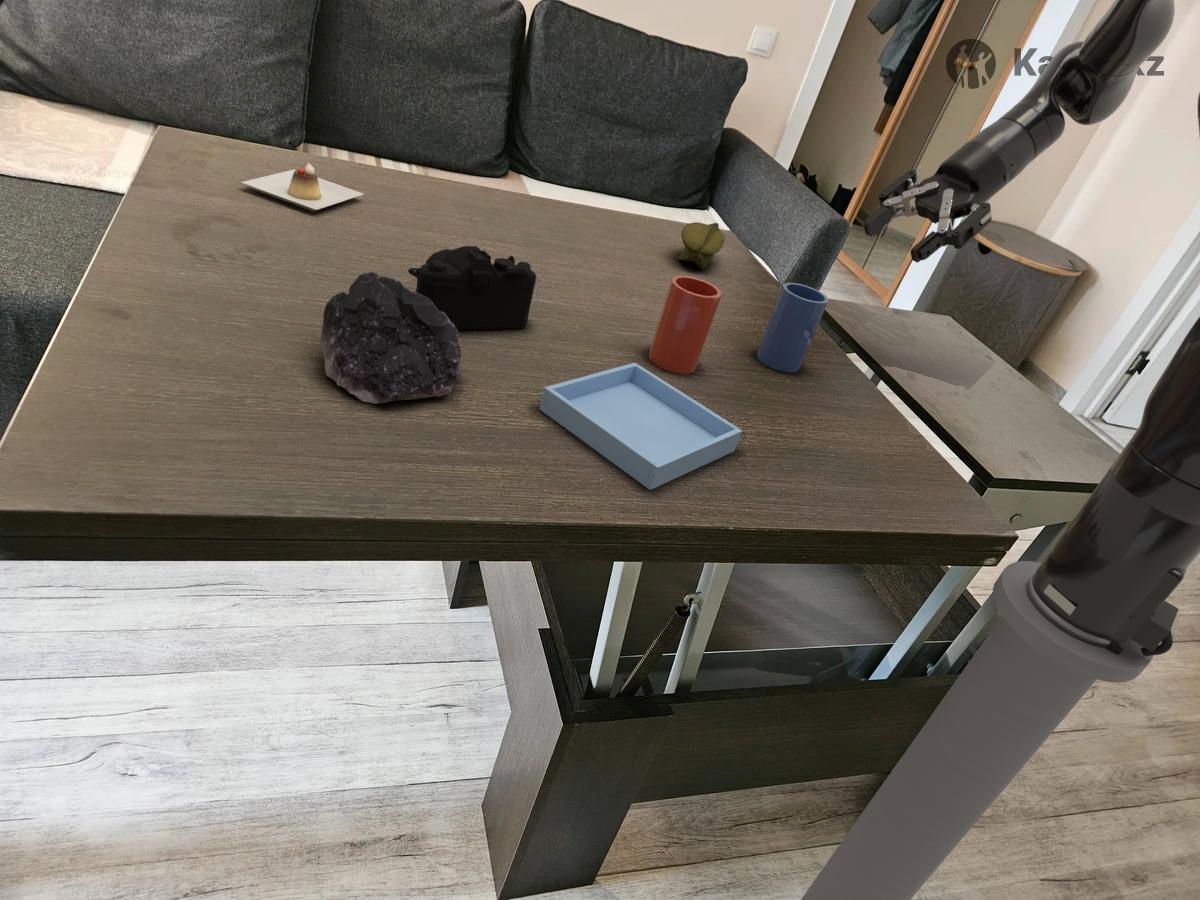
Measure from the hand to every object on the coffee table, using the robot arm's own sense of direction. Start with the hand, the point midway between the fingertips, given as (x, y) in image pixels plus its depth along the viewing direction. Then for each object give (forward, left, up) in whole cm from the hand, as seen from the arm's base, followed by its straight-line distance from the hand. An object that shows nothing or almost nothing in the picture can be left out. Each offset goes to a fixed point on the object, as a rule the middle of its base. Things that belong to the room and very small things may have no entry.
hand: (889, 243), depth 103 cm
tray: (0, +44, -17) cm, 47 cm away
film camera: (+28, +45, -17) cm, 56 cm away
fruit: (+32, -9, -17) cm, 38 cm away
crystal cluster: (+19, +61, -17) cm, 66 cm away
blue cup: (+3, +11, -17) cm, 21 cm away
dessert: (+67, +43, -17) cm, 82 cm away
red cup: (+9, +27, -17) cm, 33 cm away
